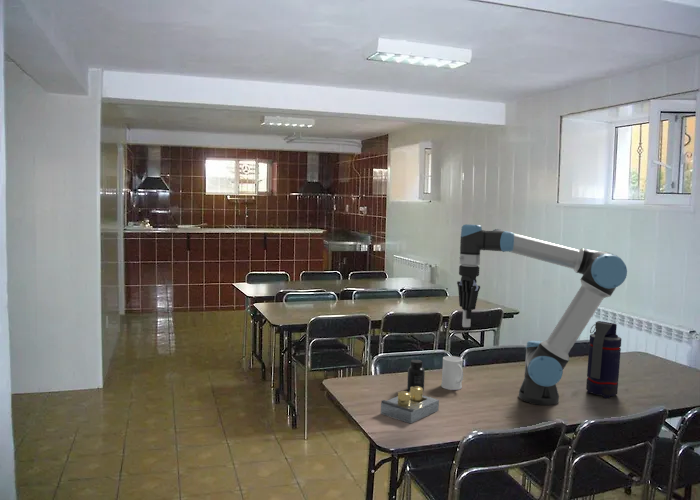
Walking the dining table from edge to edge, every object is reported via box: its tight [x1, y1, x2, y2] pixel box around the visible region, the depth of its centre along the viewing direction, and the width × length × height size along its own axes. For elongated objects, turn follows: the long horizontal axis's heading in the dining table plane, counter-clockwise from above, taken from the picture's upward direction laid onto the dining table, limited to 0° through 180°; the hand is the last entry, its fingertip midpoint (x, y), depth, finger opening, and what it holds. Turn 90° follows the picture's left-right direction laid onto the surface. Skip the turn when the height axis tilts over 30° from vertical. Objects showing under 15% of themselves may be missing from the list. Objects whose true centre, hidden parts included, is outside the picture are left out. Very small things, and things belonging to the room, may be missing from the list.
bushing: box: [409, 386, 424, 403], centre depth 215 cm, size 5×5×8 cm
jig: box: [380, 390, 440, 424], centre depth 212 cm, size 13×18×8 cm
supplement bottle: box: [406, 359, 426, 392], centre depth 237 cm, size 7×7×12 cm
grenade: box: [585, 320, 622, 399], centre depth 239 cm, size 14×12×30 cm
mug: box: [440, 355, 464, 391], centre depth 241 cm, size 12×8×12 cm
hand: (466, 326), depth 223 cm, fingers closed
